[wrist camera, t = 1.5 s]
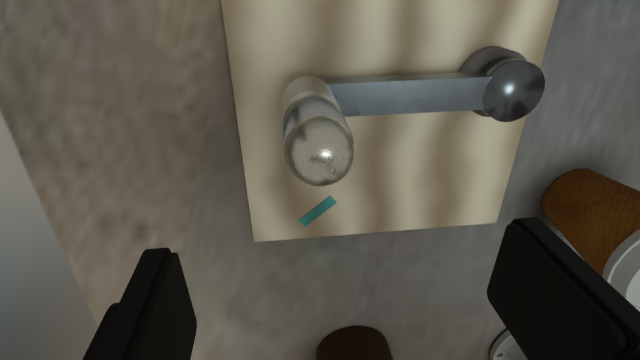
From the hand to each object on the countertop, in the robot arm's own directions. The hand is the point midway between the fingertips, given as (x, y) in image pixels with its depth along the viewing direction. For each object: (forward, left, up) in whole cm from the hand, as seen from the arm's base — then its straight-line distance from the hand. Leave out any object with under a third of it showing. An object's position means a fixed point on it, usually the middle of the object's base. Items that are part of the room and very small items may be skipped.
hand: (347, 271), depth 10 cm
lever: (-8, 0, -18) cm, 20 cm away
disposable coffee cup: (-28, +13, -22) cm, 38 cm away
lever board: (-7, +4, -22) cm, 23 cm away
